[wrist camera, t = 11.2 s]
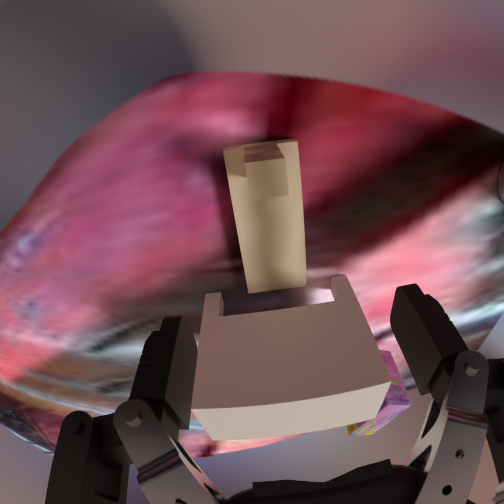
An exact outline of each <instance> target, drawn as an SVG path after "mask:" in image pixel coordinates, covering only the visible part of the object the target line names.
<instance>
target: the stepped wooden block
mask: <svg viewBox="0 0 504 504" xmlns="http://www.w3.org/2000/svg"><path fill="white" fill-rule="evenodd" d="M223 154H224V160H225V165H226V171H227V177H228V182H229V188H230V194H231V199H232V205H233V211H234V216H235V222H236V227H237V233H238V238H239V244H240V249H241V255H242V260H243V266H244V271H245V277H246V282H247V287H248V293H257V292H265V291H272V290H280V289H287V288H295V287H302V286H307V280H306V254H305V234H304V217H303V202H302V188H301V175H300V163H299V152H298V142H297V141H296V140H295V139H285V140H276V141H268V142H260V143H252V144H245V145H238V146H231V147H225V148H224V149H223Z"/></svg>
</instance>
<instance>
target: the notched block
mask: <svg viewBox="0 0 504 504" xmlns="http://www.w3.org/2000/svg"><path fill="white" fill-rule="evenodd" d="M331 292H332V294H333V297H334V300H335V301H332V302H326V303H320V304H313V305H307V306H300V307H293V308H286V309H279V310H271V311H263V312H255V313H247V314H238V315H229V316H223V311H224V302H223V298H222V294H221V292H216V293H208V294H205V301H204V308H203V315H202V322H201V329H200V336H199V344H198V351H197V354H198V355H197V364H196V372H195V380H194V388H193V396H192V404H191V410H192V412H193V413H194V415H195V416H196V418H197V419H198V421H199V422H200V423H201V425H202V426H203V428H204V429H205V431H206V432H207V433H208V435H209V436H210V438H211V439H212V440H241V439H256V438H268V437H277V436H286V435H294V434H301V433H308V432H314V431H320V430H325V429H331V428H336V427H341V426H345V425H350V424H354V423H359V422H363V421H367V420H371V419H374V418H376V416H377V413H378V411H379V409H380V407H381V405H382V403H383V400H384V398H385V396H386V394H387V391H388V389H389V387H390V384H391V382H392V381H391V378H390V376H389V373H388V371H387V368H386V366H385V363H384V361H383V358H382V356H381V353H380V351H379V348H378V346H377V343H376V341H375V339H374V336H373V334H372V332H371V329H370V327H369V325H368V322H367V320H366V318H365V316H364V313H363V311H362V309H361V307H360V304H359V302H358V300H357V298H356V296H355V293H354V291H353V289H352V287H351V285H350V283H349V281H348V278H347V276H346V275H341V276H335V277H331Z"/></svg>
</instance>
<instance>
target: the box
mask: <svg viewBox="0 0 504 504" xmlns="http://www.w3.org/2000/svg"><path fill="white" fill-rule="evenodd" d="M379 351H380V353H381V356H382V358H383V361H384V363H385V366H386V368H387V371H388V373H389V376H390V378H391V381H392V382H391V384H390V387H389V389H388V391H387V394H386V396H385V398H384V400H383V403H382V405H381V407H380V409H379V411H378V413H377V416H376V418H374V419H371V420H367V421H363V422H359V423H354V424H350V425H346V426H347V430H348V434H349V435H371V434H373V433H375V432H376V431H377V430H379V429H380V428H382V427H383V426H384V425H386V424H387V423H388V422H390V421H391V420H392V419H394V418H395V417H396V416H397V415H399V414H400V413H401V412H403V411H404V410H405V409H407V408H408V407H409V406H410V405H411V402H410V399H409V397H408V394H407V392H406V389H405V386H404V384H403V381H402V379H401V376H400V374H399V371H398V369H397V367H396V364H395V362H394V359H393V357H392V355H391V352H388V351H383V350H379Z"/></svg>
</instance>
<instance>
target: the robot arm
mask: <svg viewBox="0 0 504 504" xmlns="http://www.w3.org/2000/svg"><path fill="white" fill-rule="evenodd" d="M498 192H499V196H500V199H501V200H502V202H503V203H504V161H503V163H502V165H501V169H500V172H499V177H498ZM390 324H391V328H392V331H393V333H394V335H395V338H396V340H397V342H398V344H399V346H400V348H401V351H402V353H403V355H404V357H405V359H406V362H407V364H408V366H409V368H410V371H411V373H412V375H413V378H414V380H415V383H416V385H417V387H418V390H419V392H420V394H421V396H422V395H425V394H427V393H431V395H432V397H433V398H432V400H431V402H430V405H429V408H428V411H427V415H426V418H425V421H424V423H423V426H422V429H421V432H420V435H419V437H418V440H417V442H416V444H415V446H414V448H413V449H412V451H411V453H410V454H409V456H408V458H407V460H406V462H405V465H391V462H390V459H387V460H384V461H380V462H377V463H373V464H369V465H366V466H362V467H358V468H356V469H354V470H352V471H349V472H347V473H346V474H343V475H341V476H339V477H336V478H334V479H332V480H329V481H327V482H308V481H296V480H278V481H265V482H253V488H251V489H247V490H245V491H242V492H239V493H238V494H235V495H233V496H232V497H230V498H228V499H227V498H226V497H225V496H224V495H223V494H222V493H221V492H220V491H219V489H218V488H217V487H216V486H215V485H214V484H213V483H212V482H211V481H210V480H209V479H208V478H207V476H206V475H205V474H204V473H203V472H202V470H201V469H200V468H199V467H198V465H197V464H196V463H195V461H194V460H193V459H192V457H191V456H190V455H189V453H188V452H187V451H186V449H185V448H184V446H183V445H182V444H181V442H180V441H179V439H178V434H179V429H186V430H189V422H190V413H191V404H192V396H193V388H194V380H195V372H196V364H197V355H198V354H197V345H196V341H195V339H194V336H193V334H192V331H191V329H190V326H189V324H188V321H187V319H186V317H185V316H184V315H180V316H167V317H164V319H163V322H162V325H161V329H160V331H153V332H152V333H151V335H150V336H149V337H148V339H147V340H146V341H145V344H144V348H143V351H142V355H141V358H140V361H139V362H140V364H139V365H138V368H137V372H136V375H135V379H134V383H133V386H132V390H131V394H130V397H129V400H127V401H125V402H123V403H122V404H120V405H119V406H118V408H117V409H116V410H115V413H112V414H108V415H103V416H98V417H93V418H92V417H91V416H90V415H89V414H88V413H86V412H84V411H74V412H71V413H70V414H68V415H67V416H66V417H65V419H64V420H63V422H62V425H61V429H60V433H59V437H58V441H57V445H56V449H55V453H54V458H53V462H52V467H51V472H50V477H49V482H48V488H47V494H46V500H45V504H126V499H127V498H126V497H127V486H128V476H129V467H130V464H134V465H135V467H136V469H137V471H138V476H137V481H138V483H139V485H140V487H141V489H142V490H143V492H144V493H145V495H146V497H147V498H148V500H149V502H150V503H151V504H475V503H473V502H472V501H470V500H468V496H469V493H470V490H471V488H472V485H473V481H474V478H475V475H476V472H477V469H478V465H479V462H480V458H481V454H482V450H483V446H484V442H485V438H487V441H488V444H489V447H490V450H491V454H492V457H493V461H494V464H495V468H496V472H497V476H498V480H499V486H498V488H497V490H496V493H495V494H494V495H493V498H492V501H493V503H494V504H504V358H501V359H486V358H485V356H483V355H482V354H481V353H480V352H478V351H475V350H469V349H468V347H467V346H466V344H465V342H464V341H463V339H462V337H461V336H460V334H459V332H458V331H457V329H456V328H455V326H454V325H453V323H452V321H450V318H449V317H448V315H447V314H446V313H445V311H444V309H443V308H442V306H441V305H440V303H439V302H438V301H437V300H436V299H434V298H433V297H432V296H430V295H429V294H426V295H424V294H423V292H422V291H421V289H420V288H419V286H418V285H417V284H409V285H404V286H399V287H397V289H396V292H395V297H394V301H393V306H392V310H391V315H390Z"/></svg>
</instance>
